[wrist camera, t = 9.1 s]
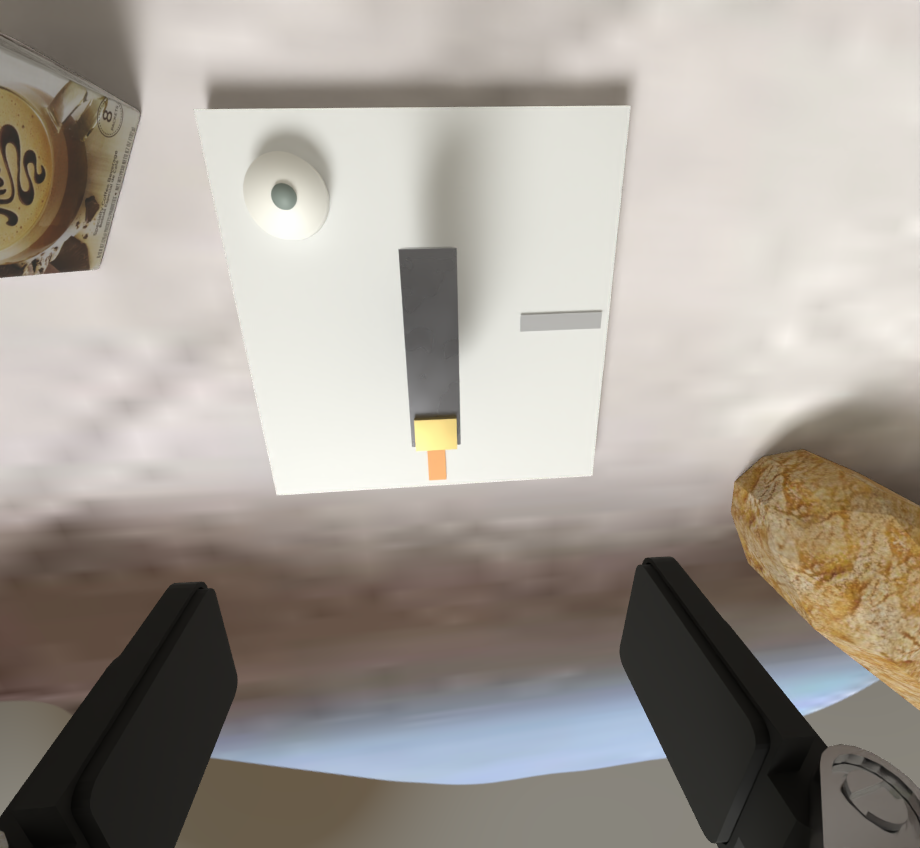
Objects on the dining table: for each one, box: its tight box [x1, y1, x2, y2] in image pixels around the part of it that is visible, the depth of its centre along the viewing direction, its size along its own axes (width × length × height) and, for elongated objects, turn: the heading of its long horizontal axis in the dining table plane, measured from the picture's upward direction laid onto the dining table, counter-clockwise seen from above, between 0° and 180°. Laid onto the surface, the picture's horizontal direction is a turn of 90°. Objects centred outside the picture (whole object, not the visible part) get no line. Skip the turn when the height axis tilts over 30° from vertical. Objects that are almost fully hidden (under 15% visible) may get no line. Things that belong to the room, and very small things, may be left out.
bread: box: [731, 449, 920, 710], centre depth 35 cm, size 36×11×10 cm, turn 51°
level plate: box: [194, 106, 631, 495], centre depth 27 cm, size 22×22×3 cm
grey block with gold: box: [398, 246, 461, 451], centre depth 23 cm, size 9×2×7 cm, turn 1°
